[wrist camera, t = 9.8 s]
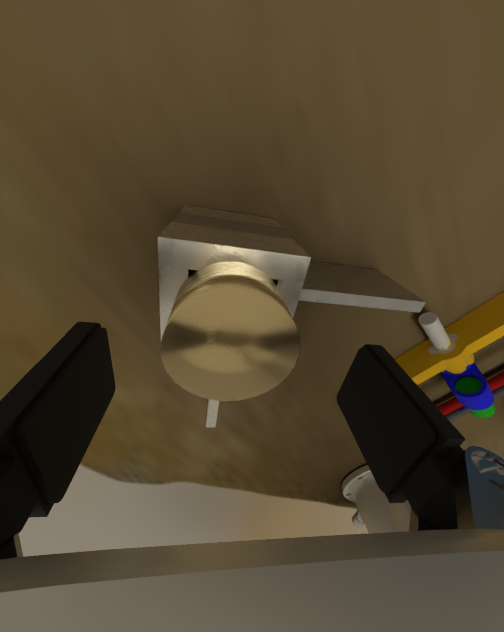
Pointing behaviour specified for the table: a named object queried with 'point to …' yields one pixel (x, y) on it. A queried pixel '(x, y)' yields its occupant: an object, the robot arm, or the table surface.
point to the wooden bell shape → (229, 334)
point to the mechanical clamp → (459, 359)
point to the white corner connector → (265, 266)
